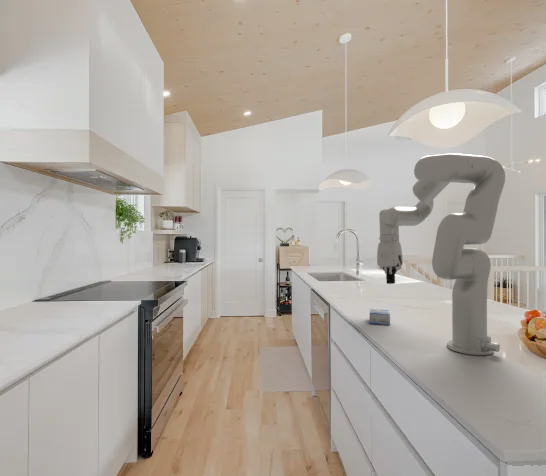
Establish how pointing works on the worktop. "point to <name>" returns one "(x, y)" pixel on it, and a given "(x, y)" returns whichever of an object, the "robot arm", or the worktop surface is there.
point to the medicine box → (379, 317)
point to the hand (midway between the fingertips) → (390, 283)
